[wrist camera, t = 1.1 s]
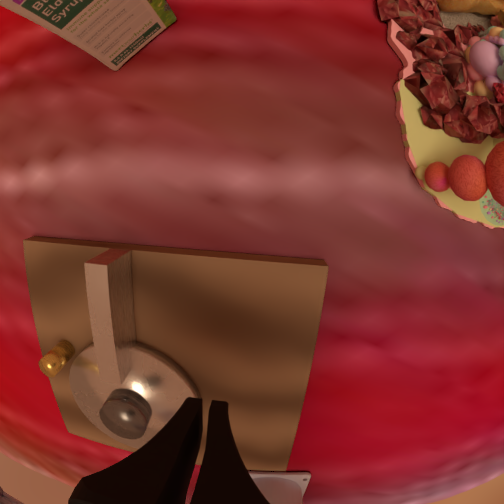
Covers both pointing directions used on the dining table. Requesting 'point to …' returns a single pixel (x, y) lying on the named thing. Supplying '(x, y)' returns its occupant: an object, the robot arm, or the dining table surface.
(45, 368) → the gold metal knob
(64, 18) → the syrup box
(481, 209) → the candy landscape model
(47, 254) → the base board
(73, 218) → the dining table surface
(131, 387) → the lever handle
